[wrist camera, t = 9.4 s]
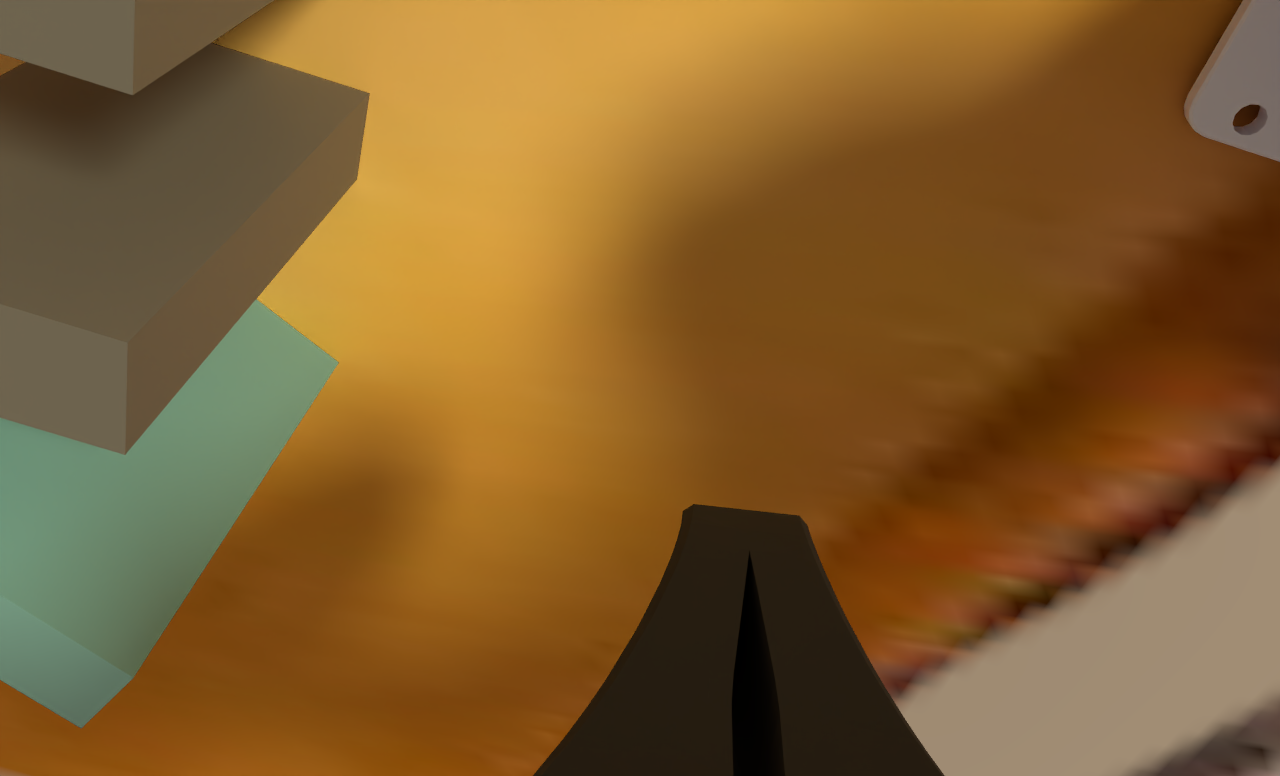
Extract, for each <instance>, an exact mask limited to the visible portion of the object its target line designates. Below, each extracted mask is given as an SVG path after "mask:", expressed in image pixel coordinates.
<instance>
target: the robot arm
mask: <svg viewBox="0 0 1280 776" xmlns="http://www.w3.org/2000/svg"><path fill="white" fill-rule="evenodd" d="M1250 104H1253V105H1259V106H1260V110H1259V113H1258V116H1257V117H1256V118H1255V119H1254V120H1253V121H1252V122H1251V123H1250V124H1248V125H1245V126H1243V127H1238V126H1233V120H1234V116H1235V114H1236V113H1237V112H1238V111H1239V110H1240V109H1241V108H1243V107H1245V106H1248V105H1250ZM1184 113H1185V118H1186V119H1187V121H1188V122H1189V124H1190V126H1191V127H1192V128H1193V129H1194V131H1195V132H1197V133H1199V134H1200V135H1202V136H1204V137H1206V138H1209V139H1212V140H1215V141H1218V142H1221V143H1224V144H1227V145H1230V146H1233V147H1236V148H1239V149H1242V150H1245V151H1248V152H1251V153H1254V154H1257V155H1260V156H1263V157H1267V158H1270V159H1273V160H1276V161H1279V162H1280V0H1243V1H1242V3H1241V5H1240V6H1239V8H1238V10H1237V11H1236V13H1235V15H1234V16H1233V18H1232V20H1231V22H1230V23H1229V25H1228V27H1227V28H1226V30H1225V32H1224V34H1223V35H1222V37H1221V39H1220V40H1219V42H1218V44H1217V46H1216V47H1215V49H1214V51H1213V52H1212V54H1211V56H1210V58H1209V59H1208V61H1207V63H1206V64H1205V66H1204V68H1203V69H1202V71H1201V73H1200V75H1199V76H1198V78H1197V80H1196V81H1195V83H1194V85H1193V87H1192V88H1191V90H1190V92H1189V93H1188V96H1187V98H1186V101H1185V104H1184ZM533 776H944V775H943V773H942V772H941V770H940V769H939V768H938V766H937V765H936V763H935V762H934V761H933V759H932V758H931V757H930V755H929V754H928V752H927V751H926V750H925V748H924V747H923V745H922V744H921V742H920V741H919V740H918V738H917V737H916V735H915V734H914V732H913V731H912V729H911V728H910V726H909V725H908V723H907V721H906V720H905V718H904V717H903V715H902V714H901V712H900V711H899V709H898V707H897V706H896V704H895V703H894V701H893V699H892V698H891V696H890V694H889V693H888V691H887V690H886V688H885V686H884V685H883V683H882V681H881V680H880V678H879V676H878V675H877V673H876V671H875V669H874V668H873V666H872V664H871V662H870V661H869V659H868V657H867V655H866V653H865V651H864V650H863V648H862V646H861V644H860V642H859V640H858V638H857V637H856V635H855V633H854V631H853V629H852V627H851V625H850V623H849V622H848V620H847V618H846V616H845V614H844V612H843V610H842V608H841V606H840V604H839V602H838V599H837V597H836V595H835V593H834V591H833V589H832V586H831V584H830V582H829V580H828V578H827V576H826V573H825V571H824V569H823V566H822V564H821V561H820V559H819V557H818V554H817V552H816V549H815V546H814V544H813V541H812V538H811V536H810V533H809V530H808V526H807V524H806V523H805V522H804V521H803V520H802V518H801V517H800V516H797V515H788V514H778V513H769V512H760V511H751V510H742V509H733V508H724V507H714V506H705V505H696V504H693V505H692V506H690V507H689V508H687V509H685V510H684V511H683V515H682V523H681V527H680V531H679V535H678V539H677V542H676V545H675V548H674V551H673V553H672V556H671V559H670V561H669V563H668V566H667V568H666V571H665V573H664V575H663V578H662V580H661V582H660V584H659V586H658V588H657V590H656V592H655V594H654V596H653V598H652V600H651V602H650V604H649V606H648V608H647V610H646V612H645V614H644V616H643V618H642V620H641V622H640V624H639V626H638V628H637V629H636V631H635V633H634V635H633V636H632V638H631V640H630V641H629V643H628V644H627V646H626V648H625V649H624V651H623V653H622V654H621V656H620V658H619V659H618V661H617V663H616V664H615V666H614V668H613V669H612V671H611V673H610V674H609V676H608V677H607V679H606V680H605V682H604V683H603V685H602V686H601V688H600V689H599V691H598V692H597V694H596V695H595V697H594V698H593V699H592V701H591V702H590V704H589V705H588V707H587V708H586V709H585V711H584V712H583V713H582V715H581V716H580V717H579V719H578V720H577V721H576V723H575V724H574V726H573V727H572V728H571V730H570V731H569V732H568V734H567V735H566V736H565V737H564V739H563V740H562V741H561V742H560V744H559V745H558V746H557V747H556V748H555V750H554V751H553V752H552V753H551V755H550V756H549V757H548V758H547V759H546V761H545V762H544V763H543V764H542V765H541V767H540V768H539V769H538V770H537V772H536V773H535V774H534V775H533Z"/></svg>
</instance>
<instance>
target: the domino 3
mask: <svg viewBox="0 0 1280 776" xmlns="http://www.w3.org/2000/svg"><path fill="white" fill-rule="evenodd" d="M338 363H339V362H337V361H336V360H335V359H333V358H332V357H331V356H329V355H328V354H327V353H326V352H324V351H323V350H322V349H320V348H319V347H318V346H316V345H315V344H314V343H313V342H311V341H310V340H309V339H307V338H306V337H305V336H303V335H302V334H301V333H300V332H298V331H297V330H296V329H294V328H293V327H292V326H290V325H289V324H288V323H287V322H285V321H284V320H283V319H281V318H280V317H279V316H277V315H276V314H275V313H274V312H272V311H271V310H270V309H268V308H267V307H266V306H264V305H263V304H262V303H260V302H259V301H258V300H257V299H256V300H255V301H254V302H253V303H252V305H251V306H250V307H249V308H248V309H247V311H246V312H245V313H244V314H243V315H242V316H241V318H240V319H239V320H238V321H237V322H236V324H235V325H234V326H233V327H232V328H231V330H230V331H229V332H228V333H227V334H226V336H225V337H224V338H223V339H222V340H221V341H220V343H219V344H218V345H217V346H216V347H215V349H214V350H213V351H212V352H211V353H210V355H209V356H208V357H207V358H206V359H205V361H204V362H203V363H202V364H201V365H200V367H199V368H198V369H197V370H196V371H195V372H194V374H193V375H192V376H191V377H190V378H189V380H188V381H187V382H186V383H185V384H184V386H183V387H182V388H181V389H180V390H179V392H178V393H177V394H176V395H175V396H174V397H173V399H172V400H171V401H170V402H169V403H168V405H167V406H166V407H165V408H164V409H163V411H162V412H161V413H160V414H159V415H158V417H157V418H156V419H155V420H154V421H153V422H152V424H151V425H150V426H149V427H148V428H147V430H146V431H145V432H144V433H143V434H142V436H141V437H140V438H139V439H138V440H137V442H136V443H135V444H134V445H133V446H132V447H131V449H130V450H129V451H128V452H127V453H126V455H123V454H120V453H117V452H113V451H110V450H107V449H103V448H100V447H97V446H93V445H90V444H86V443H83V442H80V441H76V440H73V439H70V438H66V437H63V436H60V435H56V434H53V433H50V432H46V431H43V430H40V429H36V428H33V427H30V426H26V425H23V424H19V423H16V422H13V421H9V420H6V419H3V418H0V680H1V681H3V682H5V683H6V684H8V685H10V686H11V687H13V688H15V689H16V690H18V691H20V692H21V693H23V694H25V695H26V696H28V697H30V698H31V699H33V700H35V701H36V702H38V703H40V704H41V705H43V706H45V707H46V708H48V709H50V710H51V711H53V712H55V713H56V714H58V715H60V716H61V717H63V718H65V719H66V720H68V721H70V722H71V723H73V724H75V725H76V726H78V727H80V728H82V727H83V726H84V725H85V724H86V723H87V722H88V721H89V720H91V719H92V718H93V717H94V716H95V715H96V714H97V713H98V712H99V711H100V710H101V709H102V708H103V707H104V706H105V705H106V704H107V703H108V702H109V701H110V700H111V699H112V698H113V697H114V696H115V695H116V694H117V693H118V692H119V691H120V690H121V689H122V688H123V687H125V686H126V685H127V684H128V683H129V682H130V681H131V680H132V679H133V678H134V676H135V675H136V673H137V672H138V670H139V668H140V667H141V665H142V664H143V662H144V661H145V659H146V658H147V656H148V655H149V653H150V652H151V650H152V649H153V647H154V645H155V644H156V642H157V641H158V639H159V638H160V636H161V635H162V633H163V632H164V630H165V629H166V627H167V626H168V624H169V622H170V621H171V619H172V618H173V616H174V615H175V613H176V612H177V610H178V609H179V607H180V606H181V604H182V602H183V601H184V599H185V598H186V596H187V595H188V593H189V592H190V590H191V589H192V587H193V586H194V584H195V583H196V581H197V579H198V578H199V576H200V575H201V573H202V572H203V570H204V569H205V567H206V566H207V564H208V563H209V561H210V560H211V558H212V556H213V555H214V553H215V552H216V550H217V549H218V547H219V546H220V544H221V543H222V541H223V540H224V538H225V536H226V535H227V533H228V532H229V530H230V529H231V527H232V526H233V524H234V523H235V521H236V520H237V518H238V517H239V515H240V513H241V512H242V510H243V509H244V507H245V506H246V504H247V503H248V501H249V500H250V498H251V497H252V495H253V493H254V492H255V490H256V489H257V487H258V486H259V484H260V483H261V481H262V480H263V478H264V477H265V475H266V474H267V472H268V470H269V469H270V467H271V466H272V464H273V463H274V461H275V460H276V458H277V457H278V455H279V454H280V452H281V451H282V449H283V447H284V446H285V444H286V443H287V441H288V440H289V438H290V437H291V435H292V434H293V432H294V431H295V429H296V427H297V426H298V424H299V423H300V421H301V420H302V418H303V417H304V415H305V414H306V412H307V411H308V409H309V408H310V406H311V404H312V403H313V401H314V400H315V398H316V397H317V395H318V394H319V392H320V391H321V389H322V388H323V386H324V385H325V383H326V381H327V380H328V378H329V377H330V375H331V374H332V372H333V371H334V369H335V368H336V366H337V365H338Z"/></svg>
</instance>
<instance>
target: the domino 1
mask: <svg viewBox="0 0 1280 776" xmlns="http://www.w3.org/2000/svg"><path fill="white" fill-rule="evenodd" d="M272 1H274V0H0V54H3V55H6V56H10V57H13V58H16V59H19V60H22V61H25V62H29V63H32V64H35V65H38V66H41V67H44V68H48V69H51V70H54V71H57V72H60V73H63V74H67V75H70V76H73V77H76V78H79V79H82V80H86V81H89V82H92V83H95V84H98V85H101V86H105V87H108V88H111V89H114V90H117V91H121V92H124V93H127V94H130V95H134V94H135V93H137V92H138V91H140V90H141V89H143V88H144V87H146V86H147V85H149V84H150V83H152V82H153V81H155V80H156V79H158V78H159V77H161V76H162V75H164V74H165V73H167V72H168V71H170V70H171V69H173V68H174V67H176V66H177V65H179V64H180V63H182V62H183V61H185V60H186V59H188V58H189V57H191V56H192V55H193V54H195V53H196V52H198V51H199V50H201V49H202V48H204V47H205V46H207V45H208V44H210V43H211V42H213V41H214V40H216V39H217V38H219V37H220V36H222V35H223V34H225V33H226V32H228V31H229V30H231V29H232V28H234V27H235V26H237V25H238V24H240V23H241V22H243V21H244V20H246V19H247V18H249V17H250V16H251V15H253V14H254V13H256V12H257V11H259V10H260V9H262V8H263V7H265V6H266V5H268V4H269V3H271V2H272Z"/></svg>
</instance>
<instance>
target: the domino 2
mask: <svg viewBox="0 0 1280 776" xmlns="http://www.w3.org/2000/svg"><path fill="white" fill-rule="evenodd" d="M369 94H370V93H367V92H364V91H360V90H357V89H354V88H351V87H348V86H345V85H342V84H338V83H335V82H332V81H329V80H326V79H323V78H320V77H316V76H313V75H310V74H307V73H304V72H301V71H298V70H294V69H291V68H288V67H285V66H282V65H279V64H276V63H273V62H269V61H266V60H263V59H260V58H257V57H254V56H251V55H247V54H244V53H241V52H238V51H235V50H232V49H229V48H225V47H222V46H219V45H216V44H213V43H210V44H208V45H207V46H205V47H204V48H202V49H201V50H199V51H198V52H196V53H195V54H193V55H192V56H191V57H189V58H188V59H186V60H185V61H183V62H182V63H180V64H179V65H177V66H176V67H174V68H173V69H171V70H170V71H168V72H167V73H165V74H164V75H162V76H161V77H159V78H158V79H156V80H155V81H153V82H152V83H150V84H149V85H147V86H146V87H144V88H143V89H141V90H140V91H138V92H137V93H135V94H134V95H130V94H127V93H124V92H121V91H117V90H114V89H111V88H108V87H105V86H101V85H98V84H95V83H92V82H89V81H86V80H82V79H79V78H76V77H73V76H70V75H67V74H63V73H60V72H57V71H54V70H51V69H48V68H44V67H41V66H38V65H35V64H32V63H29V62H25V63H23V64H22V65H20V66H18V67H16V68H14V69H12V70H10V71H9V72H7V73H5V74H3V75H1V76H0V418H3V419H6V420H9V421H13V422H16V423H19V424H23V425H26V426H30V427H33V428H36V429H40V430H43V431H46V432H50V433H53V434H56V435H60V436H63V437H66V438H70V439H73V440H76V441H80V442H83V443H86V444H90V445H93V446H97V447H100V448H103V449H107V450H110V451H113V452H117V453H120V454H123V455H126V453H127V452H128V451H129V450H130V449H131V447H132V446H133V445H134V444H135V443H136V442H137V440H138V439H139V438H140V437H141V436H142V434H143V433H144V432H145V431H146V430H147V428H148V427H149V426H150V425H151V424H152V422H153V421H154V420H155V419H156V418H157V417H158V415H159V414H160V413H161V412H162V411H163V409H164V408H165V407H166V406H167V405H168V403H169V402H170V401H171V400H172V399H173V397H174V396H175V395H176V394H177V393H178V392H179V390H180V389H181V388H182V387H183V386H184V384H185V383H186V382H187V381H188V380H189V378H190V377H191V376H192V375H193V374H194V372H195V371H196V370H197V369H198V368H199V367H200V365H201V364H202V363H203V362H204V361H205V359H206V358H207V357H208V356H209V355H210V353H211V352H212V351H213V350H214V349H215V347H216V346H217V345H218V344H219V343H220V341H221V340H222V339H223V338H224V337H225V336H226V334H227V333H228V332H229V331H230V330H231V328H232V327H233V326H234V325H235V324H236V322H237V321H238V320H239V319H240V318H241V316H242V315H243V314H244V313H245V312H246V311H247V309H248V308H249V307H250V306H251V305H252V303H253V302H254V301H255V300H256V299H257V297H258V296H259V295H260V294H261V293H262V291H263V290H264V289H265V288H266V287H267V286H268V284H269V283H270V282H271V281H272V280H273V278H274V277H275V276H276V275H277V274H278V272H279V271H280V270H281V269H282V268H283V266H284V265H285V264H286V263H287V262H288V261H289V259H290V258H291V257H292V256H293V255H294V253H295V252H296V251H297V250H298V249H299V247H300V246H301V245H302V244H303V243H304V241H305V240H306V239H307V238H308V237H309V236H310V234H311V233H312V232H313V231H314V230H315V228H316V227H317V226H318V225H319V224H320V222H321V221H322V220H323V219H324V218H325V216H326V215H327V214H328V213H329V212H330V211H331V209H332V208H333V207H334V206H335V205H336V203H337V202H338V201H339V200H340V199H341V197H342V196H343V195H344V194H345V193H346V191H347V190H348V189H349V188H350V187H351V186H352V184H353V183H354V182H355V181H356V180H357V174H358V168H359V161H360V154H361V147H362V141H363V134H364V127H365V121H366V114H367V107H368V100H369Z"/></svg>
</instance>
